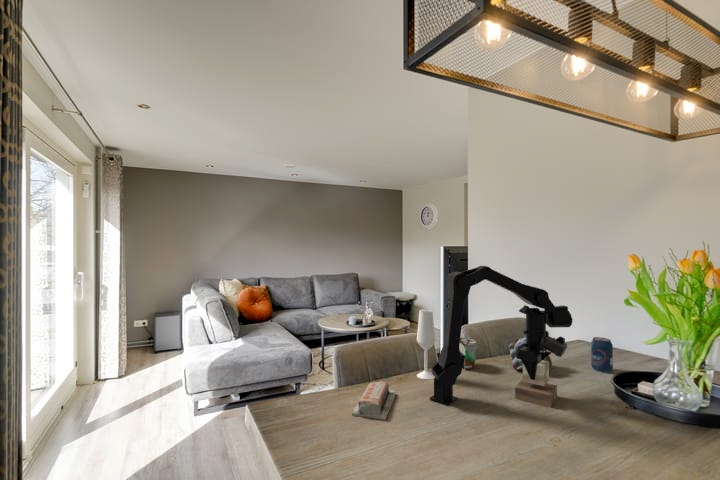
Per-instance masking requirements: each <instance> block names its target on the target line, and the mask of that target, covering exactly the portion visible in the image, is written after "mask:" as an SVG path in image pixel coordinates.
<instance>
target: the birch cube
mask: <svg viewBox="0 0 720 480" xmlns="http://www.w3.org/2000/svg"><path fill="white" fill-rule="evenodd" d="M522 379H523V381H525V382H529V383H533V384H537V385H541V386H544V385H545V384H546V383H548V382H549V381H550V368H549V362H548V361H543V360H542V361H541V362H540V363H538V365H537V371H536V376H535V380H531V379H530V376H529V374H528V372H527V370H526V368H525V366H524V364H523V369H522Z"/></svg>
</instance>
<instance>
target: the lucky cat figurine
mask: <svg viewBox="0 0 720 480" xmlns="http://www.w3.org/2000/svg"><path fill="white" fill-rule="evenodd" d="M524 343H526V336H525V337H523V338H520V339H519V338H516V339H515V340H514V342H513V343H510V344H508V349H509V352H510V356H511V359H512V362H511V364H512V365H511V367H512V369H514V370H515V371H521V370H522V371H523V362H522V361H521V359H517V358H516V352H517V351H518V350H519V349H521V348H523V347H524ZM524 348H528V347H524ZM545 361H548V362H549V369H551V368H552V366H553V362H552V358H551V357H550V355H549V356H547V357H546V358H545Z"/></svg>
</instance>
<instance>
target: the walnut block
mask: <svg viewBox="0 0 720 480" xmlns="http://www.w3.org/2000/svg"><path fill="white" fill-rule="evenodd" d="M557 397H558V385H557V384H553V383H548V382H547V383H546V384H545V385H544V386H541V385H537V384H533V383H529V382H525V381H523V378H522V379H521V380H520V381H519V383H517V385H515V386H514V400H518V401H522V402H525V403H530V404H534V405H538V406H542V407H546V408H549V409H550V408H552V407H553V404H554V403H555V401H556V400H557Z"/></svg>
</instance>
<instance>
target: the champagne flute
mask: <svg viewBox="0 0 720 480" xmlns="http://www.w3.org/2000/svg"><path fill="white" fill-rule="evenodd" d="M418 312H419V313H418V321H417V323H418V324H417V332H416V333H417V334H416V343H418V345H419V347H421V349H423V350H424V351H423V352H424V354H423V355H424V358H423V359H424V362H423V365H424V367H423V368H424V370H423V371H420V372H419V373H418V374H416V377H417V378H418V379H421V380H434V378H435V376H434V375H433V374H432V372H430V371H429V369H428V365H429V364H428V357H429V356H428V353H429V352H428V350H430V349H431V348H432V347H433V346H434V344H435V343H436V335H435V324H434V314H433V310H432V309H419V311H418Z"/></svg>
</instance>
